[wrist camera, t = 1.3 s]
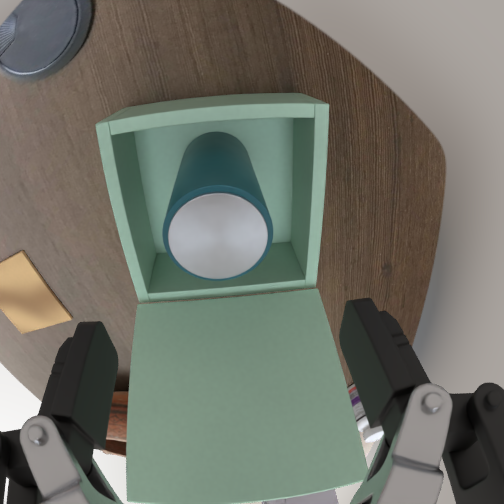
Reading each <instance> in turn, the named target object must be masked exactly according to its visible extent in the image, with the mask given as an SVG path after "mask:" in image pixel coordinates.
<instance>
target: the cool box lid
mask: <svg viewBox="0 0 504 504" xmlns="http://www.w3.org/2000/svg"><path fill="white" fill-rule="evenodd" d="M367 472H368V467H367V463H366V459H365V455H364V450H363V446H362V442H361V438H360V434H359V430H358V426H357V422H356V419H355V415H354V411H353V407H352V403H351V400H350V396H349V392H348V388H347V385H346V381H345V378H344V374H343V371H342V367H341V363H340V360H339V357H338V353H337V350H336V346H335V343H334V339H333V336H332V333H331V329H330V326H329V323H328V319H327V316H326V313H325V310H324V306H323V303H322V300H321V297H320V294H319V291H318V289H308V290H300V291H290V292H281V293H272V294H262V295H252V296H241V297H230V298H219V299H207V300H195V301H182V302H168V303H153V304H138V305H137V312H136V320H135V328H134V337H133V346H132V356H131V368H130V380H129V395H128V413H127V443H126V475H127V476H126V479H127V501H128V502H134V503H145V504H241V503H253V502H262V501H270V500H278V499H285V498H291V497H297V496H303V495H308V494H313V493H318V492H323V491H327V490H332V489H335V488H340V487H344V486H348V485H352V484H355V483H359V482H362V481H364V479H365V477H366V474H367Z"/></svg>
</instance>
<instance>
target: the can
mask: <svg viewBox="0 0 504 504" xmlns="http://www.w3.org/2000/svg"><path fill="white" fill-rule="evenodd" d="M162 237H163V243H164V247H165V249H166V252H167V254H168V255H169V257H170V258H171V260H172V261H173V262H174V263H175V264H176V265H177V266H178V267H179V268H180V269H181V270H183V271H184V272H186V273H188V274H189V275H192V276H194V277H196V278H200V279H204V280H210V281H224V280H230V279H234V278H237V277H240V276H243V275H245V274H247V273H248V272H250V271H252V270H253V269H254V268H256V267H257V266H258V265H259V264H260V263H261V262H262V261H263V259H264V258H265V257H266V255H267V253H268V252H269V250H270V247H271V244H272V240H273V224H272V219H271V216H270V214H269V211H268V208H267V205H266V202H265V199H264V196H263V194H262V191H261V188H260V185H259V182H258V180H257V177H256V174H255V171H254V169H253V166H252V163H251V160H250V157H249V155H248V152H247V150H246V148H245V146H244V145H243V144H242V142H241V141H240V140H239V139H237V138H236V137H234V136H232V135H230V134H228V133H224V132H208V133H205V134H202V135H200V136H198V137H196V138H195V139H194V140H193V141H192V142H191V143H190V144H189V145H188V146H187V148H186V150H185V152H184V154H183V157H182V161H181V164H180V167H179V170H178V174H177V177H176V180H175V184H174V187H173V191H172V194H171V198H170V201H169V205H168V208H167V212H166V216H165V219H164V223H163V229H162Z"/></svg>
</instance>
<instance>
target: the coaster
mask: <svg viewBox="0 0 504 504" xmlns="http://www.w3.org/2000/svg"><path fill="white" fill-rule="evenodd" d="M0 309H1V310H2V311H3V312H4V313H5V315H6V316H7V317H8V318H9V319H10V321H11V322H12V323H13V324H14V325H15V326H16V327H17V329H18V330H19V331H20V332H21V333H22V334H23V333H27V332H30V331H34V330H37V329H41V328H44V327H48V326H51V325H55V324H58V323H62V322H65V321H69V320H72V318H73V317H72V316H71V314H70V313H69V312H68V311H67V309H66V308H65V307H64V306H63V304H62V303H61V302H60V301H59V299H58V298H57V297H56V295H55V294H54V293H53V291H52V290H51V289H50V287H49V286H48V285H47V283H46V282H45V281H44V279H43V278H42V276H41V275H40V274H39V272H38V271H37V269H36V268H35V267H34V265H33V264H32V262H31V261H30V259H29V258H28V256H27V255H26V253H25V252H24V250H22V251H20V252H18V253H16V254H15V255H13V256H11V257H9V258H7V259H5V260H3V261H2V262H0Z"/></svg>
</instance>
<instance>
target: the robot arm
mask: <svg viewBox="0 0 504 504" xmlns="http://www.w3.org/2000/svg"><path fill="white" fill-rule="evenodd" d="M403 333H404V332H403V330H402V329H401V327H400V325H399V323H398V322H397V320H396V319H395V318H393V317H392V316H391V315H390V314H389V313H387V312H386V311H380V312H379V311H378V310H377V308H376V306H375V304H374V302H373V301H372V299H371V298H363V299H356V300H349V301H347V303H346V306H345V310H344V315H343V320H342V324H341V328H340V334H339V338H340V346H341V349H342V352H343V355H344V357H345V360H346V362H347V365H348V368H349V370H350V373H351V376H352V378H353V381H354V384H355V387H356V389H357V392H358V395H359V398H360V400H361V403H362V406H363V409H364V411H365V414H366V417H367V420H368V423H369V426H370V428H371V429H372V428H375V427H379V426H382V429H383V432H384V434H383V436H382V438H381V441H380V444H379V446H378V448H377V451H376V453H375V456H374V458H373V461H372V463H371V465H370V468H369V470H368V472H367V474H366V477H365V479H364V481H363V483H362V485H361V486H360V488H359V489H358V491H357V492H356V494H355V495H354V497H353V499H352V501H351V503H350V504H436V502H437V499H438V496H439V493H440V490H441V486H442V483H443V478H444V476H443V472H442V471H441V470H440V469H439V466H440V461H441V457H442V458H443V461H444V464H445V468H446V471H447V474H448V477H449V480H450V483H451V486H452V490H453V493H454V497H455V501H456V504H504V390H503V389H502V388H501V387H500V386H499V385H497V384H494V383H484V384H482V385H480V386H479V387H478V388H477V390H476V391H475V392H474V393H466V394H449V393H448V392H447V391H446V390H445V389H444V388H442V387H441V386H439V385H436V384H432V383H431V382H430V380H429V379H428V377H427V375H426V373H425V371H424V369H423V367H422V365H421V364H420V361H419V360H418V358H417V356H416V354H415V352H414V350H413V348H412V347H411V345H409V341H408V339H407V338H406V336H405V335H404V334H403ZM117 370H118V355H117V352H116V349H115V347H114V345H113V343H112V341H111V339H110V337H109V335H108V333H107V331H106V329H105V327H104V325H103V323H102V322H100V321H97V322H80V323H79V324H78V325H77V328H76V331H75V333H74V336H73V337H68V338H67V340H66V341H65V342H64V343H63V345H62V346H61V347H60V348H59V351H58V353H57V356H56V359H55V364H54V365H53V368H52V371H51V373H52V374H51V375H50V377H49V380H48V383H47V387H46V390H45V393H44V397H43V400H42V404H41V407H40V410H39V413H38V415H37V416H34V417H31V418H30V419H28V420H27V421H26V422H25V423H24V425H23V427H22V429H19V430H13V431H7V432H1V431H0V504H3V501H4V492H5V483H6V477H7V478H9V486H8V496H7V504H123V503H122V502H121V500H120V499H119V497H118V496H117V495H116V493H115V492H114V490H113V489H112V487H111V486H110V484H109V483H108V481H107V480H106V478H105V476H104V475H103V474H102V472H101V470H100V468H99V467H98V465H97V463H96V462H95V461H94V459H93V458H92V455H93V449H99V450H105V445H106V437H107V430H108V423H109V416H110V410H111V404H112V398H113V392H114V387H115V381H116V376H117Z"/></svg>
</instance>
